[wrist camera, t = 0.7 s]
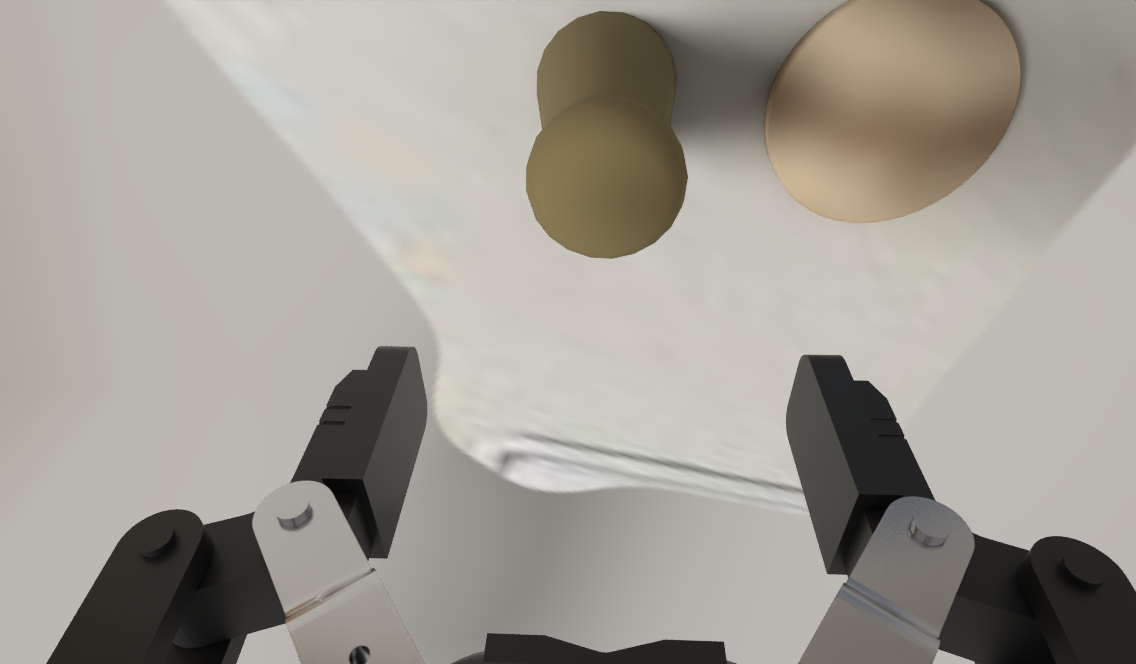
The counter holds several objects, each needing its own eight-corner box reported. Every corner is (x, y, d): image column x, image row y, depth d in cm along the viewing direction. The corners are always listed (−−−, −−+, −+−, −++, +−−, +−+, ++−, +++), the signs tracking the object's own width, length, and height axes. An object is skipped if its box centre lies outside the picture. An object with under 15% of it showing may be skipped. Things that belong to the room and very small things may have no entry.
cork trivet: (786, -18, 26) (792, -12, 26) (1050, -20, 26) (1064, -14, 25) (748, 212, 32) (752, 222, 32) (960, 213, 32) (969, 224, 31)
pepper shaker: (704, 59, 28) (748, 172, 20) (627, 175, 32) (635, 315, 23) (580, -20, 27) (568, 65, 18) (512, 111, 30) (474, 235, 21)
